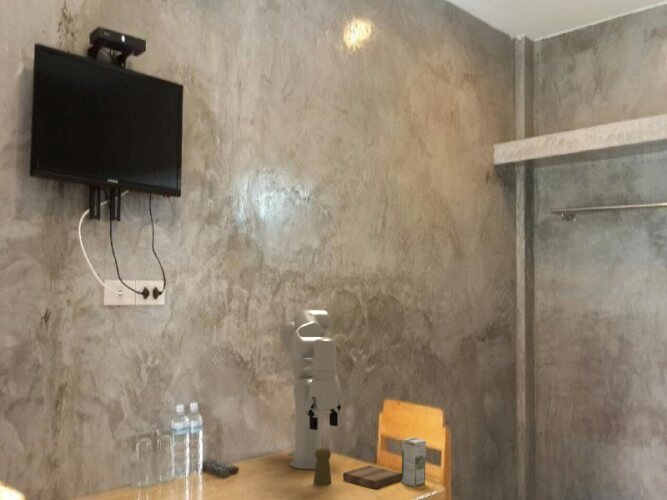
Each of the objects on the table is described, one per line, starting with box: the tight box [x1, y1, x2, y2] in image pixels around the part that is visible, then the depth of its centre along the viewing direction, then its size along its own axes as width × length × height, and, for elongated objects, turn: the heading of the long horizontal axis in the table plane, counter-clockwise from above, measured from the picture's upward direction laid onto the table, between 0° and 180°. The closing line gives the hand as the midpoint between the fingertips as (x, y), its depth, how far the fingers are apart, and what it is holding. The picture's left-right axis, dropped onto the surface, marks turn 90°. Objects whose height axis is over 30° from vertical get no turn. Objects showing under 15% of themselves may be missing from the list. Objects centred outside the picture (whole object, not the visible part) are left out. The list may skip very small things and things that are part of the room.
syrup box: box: [400, 437, 427, 487], centre depth 210 cm, size 6×6×14 cm
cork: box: [313, 447, 333, 486], centre depth 209 cm, size 6×6×11 cm
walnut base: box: [342, 464, 402, 490], centre depth 212 cm, size 14×14×2 cm
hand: (323, 427), depth 210 cm, fingers open, 9 cm apart
